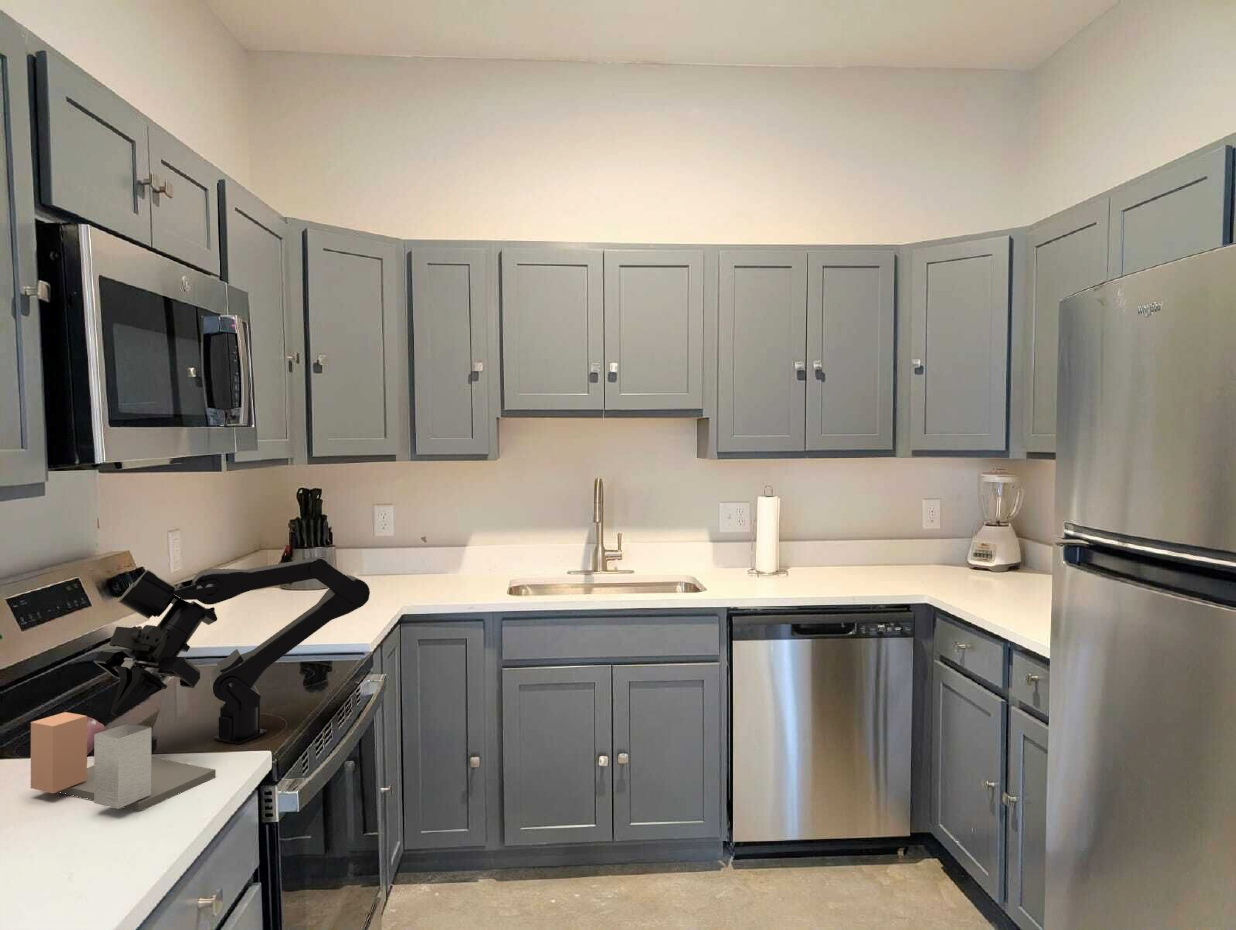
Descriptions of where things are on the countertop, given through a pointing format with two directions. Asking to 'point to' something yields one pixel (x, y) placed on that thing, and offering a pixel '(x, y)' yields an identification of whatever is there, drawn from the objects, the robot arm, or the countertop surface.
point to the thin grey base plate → (153, 782)
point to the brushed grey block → (122, 765)
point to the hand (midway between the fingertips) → (114, 714)
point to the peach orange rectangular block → (58, 752)
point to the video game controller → (92, 732)
